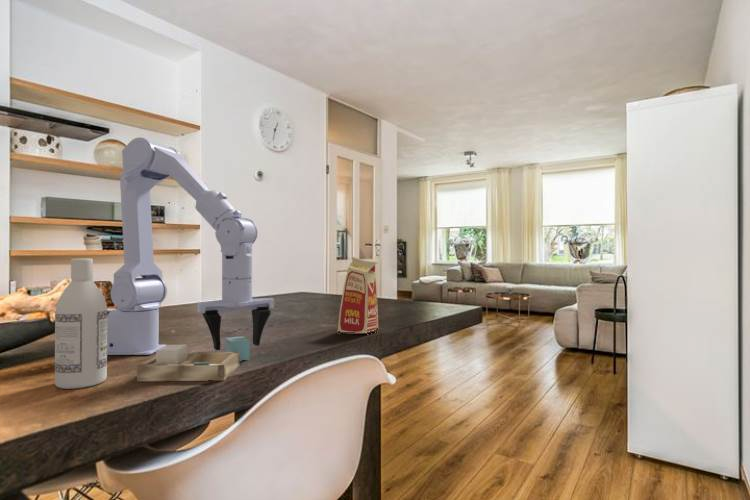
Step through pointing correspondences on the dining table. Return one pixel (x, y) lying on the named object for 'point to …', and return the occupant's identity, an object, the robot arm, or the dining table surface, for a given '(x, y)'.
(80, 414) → the dining table surface
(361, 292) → the milk carton
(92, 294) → the bath foam
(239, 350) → the teal rectangular block
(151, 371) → the slot rack
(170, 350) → the off-white plug
